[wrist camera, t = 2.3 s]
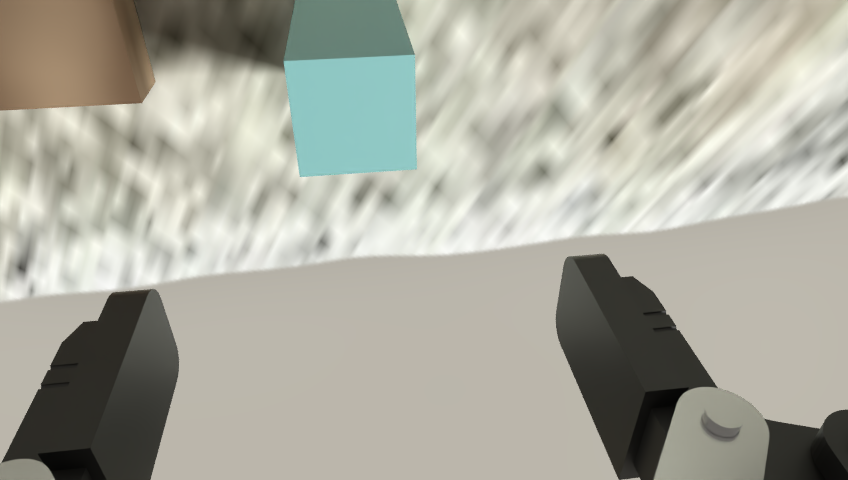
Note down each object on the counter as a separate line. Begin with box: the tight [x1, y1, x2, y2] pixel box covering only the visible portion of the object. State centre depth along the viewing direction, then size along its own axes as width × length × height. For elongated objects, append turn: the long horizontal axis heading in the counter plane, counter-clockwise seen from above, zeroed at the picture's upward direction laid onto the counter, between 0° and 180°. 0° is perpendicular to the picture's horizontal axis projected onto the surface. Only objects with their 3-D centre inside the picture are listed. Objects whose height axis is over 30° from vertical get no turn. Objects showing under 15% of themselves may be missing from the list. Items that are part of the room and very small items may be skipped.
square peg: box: [284, 0, 417, 177], centre depth 24 cm, size 4×4×10 cm
